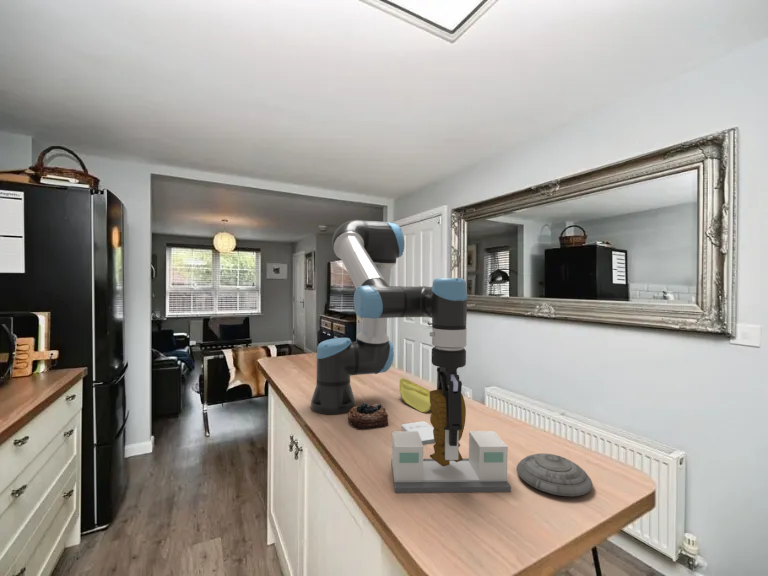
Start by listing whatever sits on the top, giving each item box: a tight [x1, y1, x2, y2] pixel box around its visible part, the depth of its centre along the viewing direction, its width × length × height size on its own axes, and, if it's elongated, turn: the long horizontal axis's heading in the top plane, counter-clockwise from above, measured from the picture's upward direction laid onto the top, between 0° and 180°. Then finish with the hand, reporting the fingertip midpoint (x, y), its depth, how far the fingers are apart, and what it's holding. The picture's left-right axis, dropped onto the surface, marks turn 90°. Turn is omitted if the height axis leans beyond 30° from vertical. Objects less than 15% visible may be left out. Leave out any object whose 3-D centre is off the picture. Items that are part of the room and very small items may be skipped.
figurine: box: [429, 389, 467, 466], centre depth 78 cm, size 7×6×15 cm
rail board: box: [391, 430, 512, 494], centre depth 78 cm, size 12×24×8 cm, turn 92°
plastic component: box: [399, 377, 431, 414], centre depth 127 cm, size 20×7×10 cm
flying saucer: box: [515, 452, 594, 497], centre depth 77 cm, size 15×15×6 cm
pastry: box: [347, 402, 389, 431], centre depth 109 cm, size 11×12×6 cm
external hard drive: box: [400, 420, 435, 446], centre depth 100 cm, size 2×8×12 cm
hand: (447, 450), depth 78 cm, fingers closed on figurine, 7 cm apart
